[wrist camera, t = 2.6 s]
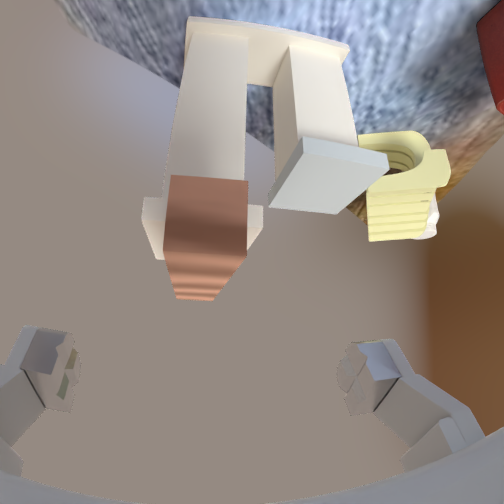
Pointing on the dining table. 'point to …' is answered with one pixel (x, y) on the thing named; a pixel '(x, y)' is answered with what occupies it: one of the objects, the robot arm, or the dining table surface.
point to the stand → (285, 120)
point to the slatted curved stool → (403, 184)
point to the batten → (204, 234)
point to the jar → (431, 220)
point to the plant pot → (493, 51)
